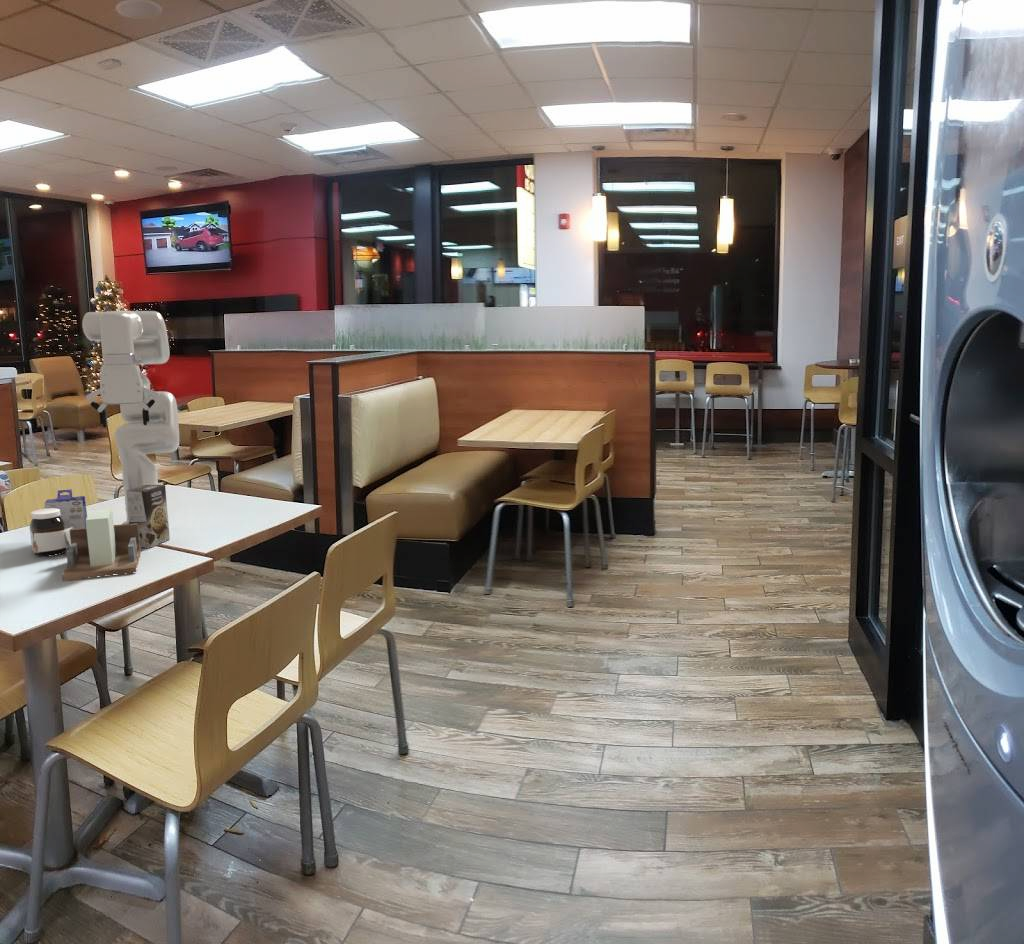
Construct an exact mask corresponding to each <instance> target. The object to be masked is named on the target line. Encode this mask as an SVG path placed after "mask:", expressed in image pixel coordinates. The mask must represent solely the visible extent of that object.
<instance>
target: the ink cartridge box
mask: <svg viewBox="0 0 1024 944" xmlns="http://www.w3.org/2000/svg"><path fill="white" fill-rule="evenodd" d="M63 493H67V494H63ZM56 497H57V498H49V499H47V500H46V501H45V502H44V509H47V508H57V509H60V517H61V518H62V520H63V522H64V525H65V530H66V529H68V528H71V527H72V528H74V529H75V528H86V518H87V516H88V514H87V513H88V512H87V502H86V497H85V495H81V496H73V489H62V490H61V489H60V490H57V496H56ZM66 539H67V537H66ZM67 543H69V542H68V540H67Z"/></svg>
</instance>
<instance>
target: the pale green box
mask: <svg viewBox="0 0 1024 944" xmlns="http://www.w3.org/2000/svg"><path fill="white" fill-rule="evenodd" d="M113 515H114V514H113V509H112V508H111V509H110V508H108V509H99V510H97V509H95V510H90V511H89V513H88V514H87V518H86V529H87V538H88V547H89V556H90V565H91V566H100V565H110V564H113V562H114V559H115V557H116V554H117V552H116V543H115V533H114V525H115V524H114V516H113Z"/></svg>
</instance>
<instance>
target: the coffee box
mask: <svg viewBox="0 0 1024 944" xmlns="http://www.w3.org/2000/svg"><path fill="white" fill-rule="evenodd" d="M126 494H127V505H128V517H129V524H134V523H138V530H139V540H140V548H142V547H150V548H149V549H152V548H154V547H156V546H158V545H160V544H159V543H161V542H163V541H165V540H168V539H170V540H171V537H170V526H169V525H170V524H169V515H168V503H167V502H168V501H167V491H166V485H165V484H158V485H144V486H141V487H137V488H134V489H131V490H127V491H126ZM168 541H169V540H168ZM165 542H166V541H165ZM163 543H164V542H163ZM161 544H162V543H161ZM151 547H152V548H151Z"/></svg>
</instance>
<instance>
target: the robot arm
mask: <svg viewBox="0 0 1024 944" xmlns="http://www.w3.org/2000/svg"><path fill="white" fill-rule="evenodd" d="M81 323H82V331H83V334H84V335H85V337H86V338H87V340H89V341H92V342H100V343H101V352H102V361H103V362H102V363H103V364H102V366H101V367H100V374H99V375H100V378H99V388H98V389H96V390H94V391H92V392H90V393H88V394H86V395H85V399H86V400H87V402H88V403H89V405H90V406H91V407H92V408H94V409H95V410H96V411H97V412H98V413H99V423H100V425H102V427H103V428H107V426H108V417H107V411H106V408H107V406H108V405H109V406H110V405H119V407H120V408H119V410H120V415H121V418H122V420H124V421H125V423H124V424H121V425H119V426H118V427H117V428H116V429H115V432H114V434H115V435H114V437H115V438H114V439H115V444H116V447H117V452H118V455H119V460H120V467H121V475H122V486H123V494H124V504H125V505H124V506H125V513H126V514H125V515H126V521H123V522H122V523H121V525H122V524H129V517H128V505H127V494H126V491H127V490H131V489H134V488H137V487H141V486H144V485H159V483H158V482H159V481H158V471H157V466H156V464H155V463H154V462H153V461H152V460H151V459H150V457H148V456H147V455H150V454H167V453H174V452H176V451H177V450H178V448H179V446H180V429H179V426H180V425H179V412H178V405H177V404H178V403H177V399H176V398H175V396H174V394H172V393H171V392H168V391H155V390H152V389H151V382H150V380H149V378H148V377H147V376H146V374H144V373H143V371H141V368H140V365H163V364H165V363H167V362H168V361H169V359H170V343H169V339H168V338H169V337H168V331H167V326H166V323H165V320H164V318H163V316H162V314H161V313H160V312H158V311H155V310H109V311H89V312H86V313H85V314H84V315H83V318H82V322H81ZM99 395H100V399H101V402H102V403H101V404H99V403H98V402H96V401H95V399H94V398H95V397H96V396H99Z"/></svg>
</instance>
